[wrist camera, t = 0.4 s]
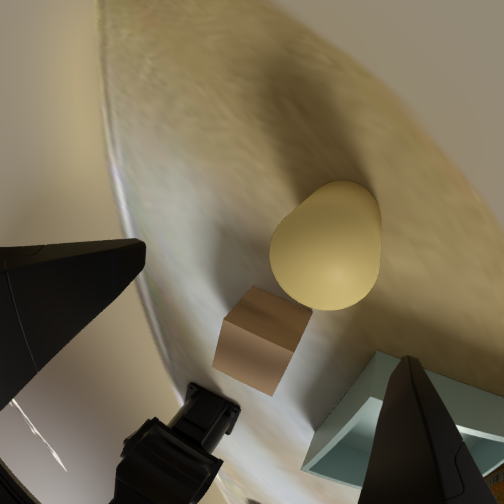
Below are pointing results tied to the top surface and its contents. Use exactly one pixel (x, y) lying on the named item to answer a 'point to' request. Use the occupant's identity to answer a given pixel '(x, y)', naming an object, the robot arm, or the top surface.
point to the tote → (367, 412)
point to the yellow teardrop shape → (329, 247)
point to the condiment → (496, 483)
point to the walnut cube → (260, 339)
